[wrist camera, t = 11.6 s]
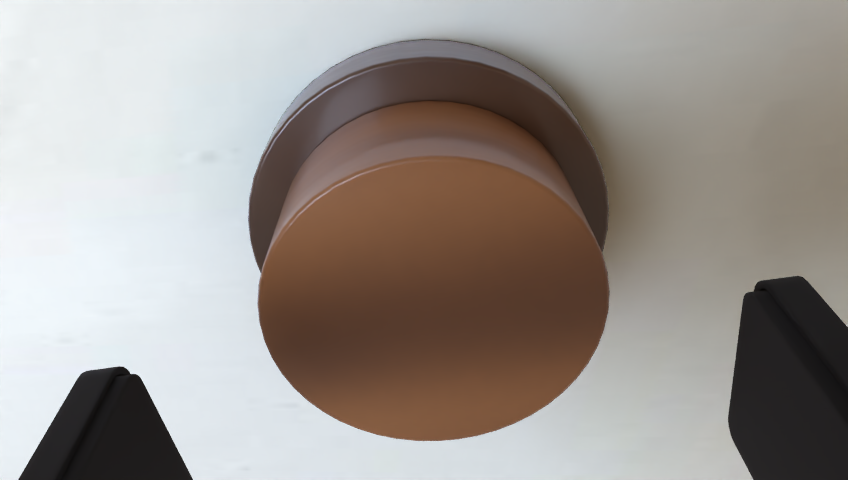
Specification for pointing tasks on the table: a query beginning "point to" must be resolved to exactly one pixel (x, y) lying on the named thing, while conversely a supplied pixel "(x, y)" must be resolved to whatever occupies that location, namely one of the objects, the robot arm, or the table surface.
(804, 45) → the table surface
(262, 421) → the table surface
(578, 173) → the walnut chip
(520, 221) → the brown short cylinder
